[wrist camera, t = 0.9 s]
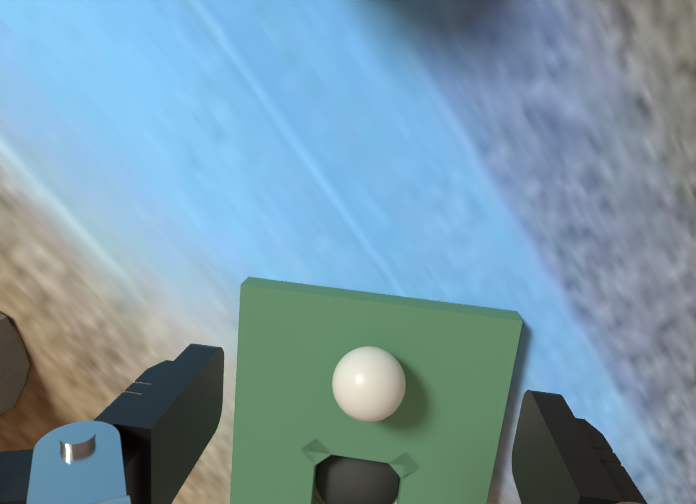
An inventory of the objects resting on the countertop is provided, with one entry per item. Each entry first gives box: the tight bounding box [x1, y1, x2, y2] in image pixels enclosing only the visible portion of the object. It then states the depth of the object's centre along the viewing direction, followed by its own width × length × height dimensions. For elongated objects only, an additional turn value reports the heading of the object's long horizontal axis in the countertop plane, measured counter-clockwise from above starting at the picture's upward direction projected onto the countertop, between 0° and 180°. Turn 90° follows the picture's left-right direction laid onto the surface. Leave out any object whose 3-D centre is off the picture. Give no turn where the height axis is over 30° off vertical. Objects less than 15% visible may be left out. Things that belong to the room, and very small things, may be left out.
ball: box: [332, 346, 406, 422], centre depth 28 cm, size 4×4×4 cm
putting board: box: [230, 277, 523, 504], centre depth 32 cm, size 16×18×2 cm
